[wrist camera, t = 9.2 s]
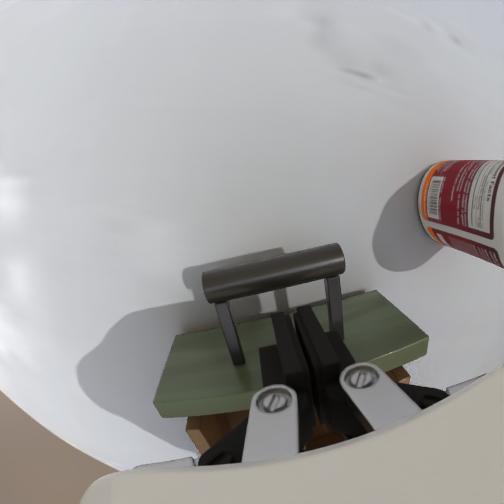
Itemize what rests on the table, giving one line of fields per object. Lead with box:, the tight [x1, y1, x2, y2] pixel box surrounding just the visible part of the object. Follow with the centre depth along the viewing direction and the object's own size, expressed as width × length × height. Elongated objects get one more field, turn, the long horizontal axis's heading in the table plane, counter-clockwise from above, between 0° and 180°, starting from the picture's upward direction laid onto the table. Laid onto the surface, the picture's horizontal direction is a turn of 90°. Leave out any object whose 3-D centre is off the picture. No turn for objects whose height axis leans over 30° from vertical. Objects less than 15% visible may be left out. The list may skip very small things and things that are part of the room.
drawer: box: [153, 243, 429, 454], centre depth 15 cm, size 18×13×6 cm
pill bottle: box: [418, 160, 504, 268], centre depth 11 cm, size 6×6×11 cm
